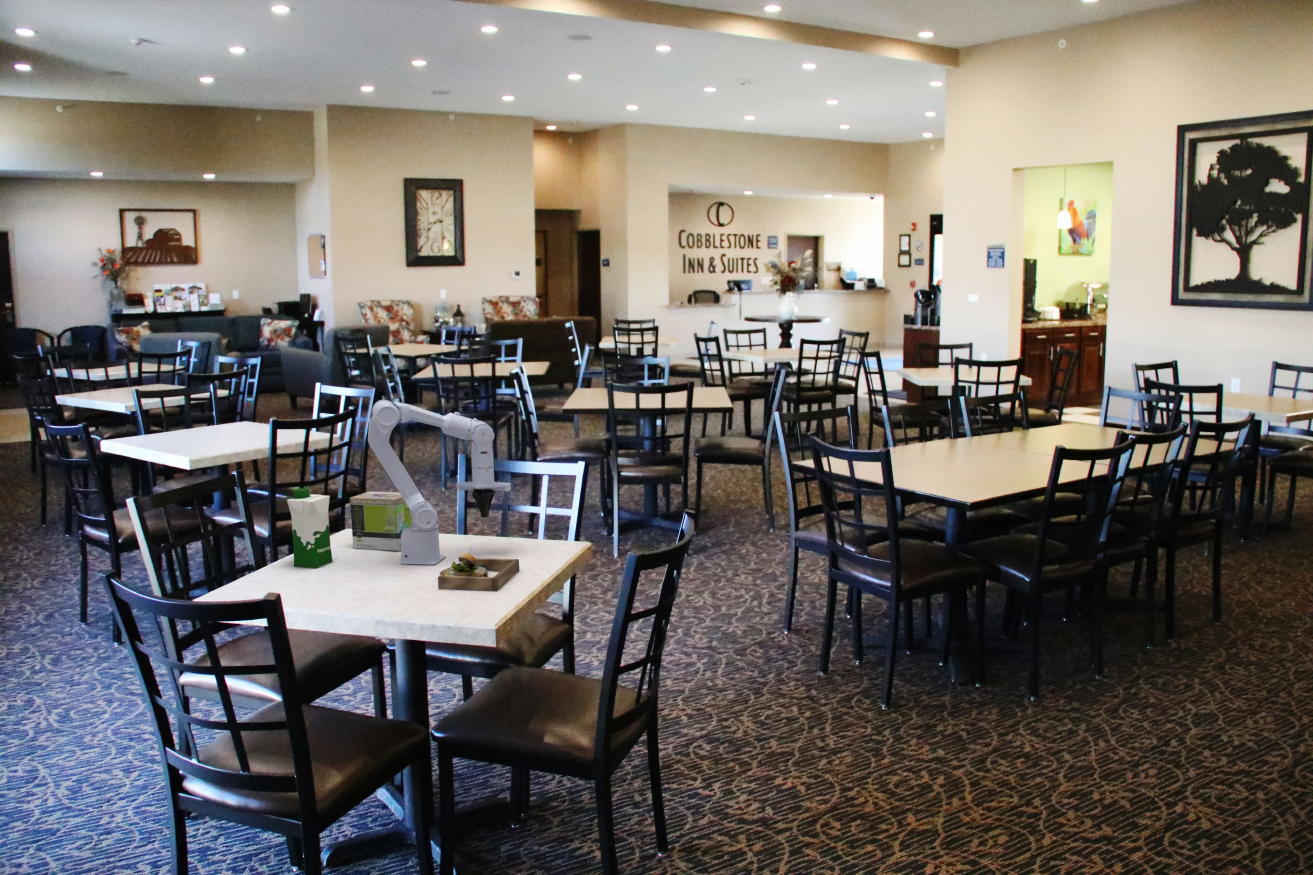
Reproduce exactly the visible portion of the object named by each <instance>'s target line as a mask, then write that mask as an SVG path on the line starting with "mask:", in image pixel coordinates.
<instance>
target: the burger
mask: <svg viewBox="0 0 1313 875" xmlns="http://www.w3.org/2000/svg"><path fill="white" fill-rule="evenodd" d="M471 550H472V549H470V550H469V553H466V554H462V555H460V556H459V557H457V559H458V562H459V563H456V562H455V560H453V561H452V563H451V565H450V567H448V568H445V569H443V570H441V571H440V572H439V576H466V577H488V576H489V571H487V569H486V568H484V567H482V566H477V565H475V564H476V559H475V558H476V557H475V556H474V555H472V554H470V553H471Z"/></svg>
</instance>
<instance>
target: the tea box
mask: <svg viewBox="0 0 1313 875" xmlns="http://www.w3.org/2000/svg"><path fill="white" fill-rule="evenodd" d="M349 505H350V518H351V533H352V536H351V537H352V545H353V546H352V547H353V549H363V550H364V549H365V550H379V551H395V552H400V551H401V534H402V531H403V530H404V529H405V528H410V526H411V525H412V523H413V522H414V521H413V519H412V518H411V516H410V510H409V507H408V505H407V504H406V502H405V501H404V499H403V497H402V496H401V494H400V493H399V491H398V492H395V491H394V492H392V491H367V492H363V493H361V494H358V495H355V496H351V497H349Z"/></svg>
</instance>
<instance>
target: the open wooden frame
mask: <svg viewBox="0 0 1313 875" xmlns="http://www.w3.org/2000/svg"><path fill="white" fill-rule="evenodd" d="M474 558H475V559H476V564H475V565H477V566H482V567H484V568H486V569H487V572H497V574H495V575H494V576H491V577H490V576H489V577H484V576H482V577H466V576H440V575H439V576H437V587H438V590H451V591H453V590H454V591H481V592H482V591H483V592H497V591H499V590H500V589H502V587H504V585H506V584H507V583H508V582H509V581H510V580H511V579H512V578H513V577H514V576H515V575H516V574H518V572H520V559H517V558H484V557H483V558H482V557H474Z"/></svg>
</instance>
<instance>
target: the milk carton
mask: <svg viewBox="0 0 1313 875" xmlns="http://www.w3.org/2000/svg"><path fill="white" fill-rule="evenodd" d="M292 491H293V492H292V493H293V497H291V498H289V499H287V500H286V502H287V505H288V509H289V512H290V516H291V530H292V532H291V533H292V541H293V542H292V544H293V567H297V568H308V569H318V568H320V567H323V566H326V565H328V564H330V563H332V562H333V555H332V548H331V547H332V546H331V535H330V534H331V532H330V523H329V522H330V520H329V505H330V499H331V498H330V497H331V496H330V495H322V494H311V493H310V488H307V487H298V488H295V489H293V490H292Z"/></svg>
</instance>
